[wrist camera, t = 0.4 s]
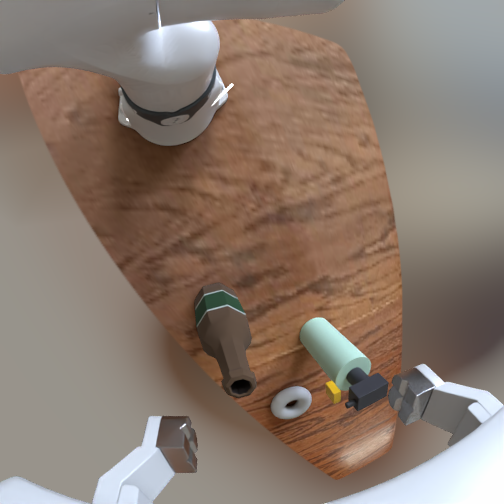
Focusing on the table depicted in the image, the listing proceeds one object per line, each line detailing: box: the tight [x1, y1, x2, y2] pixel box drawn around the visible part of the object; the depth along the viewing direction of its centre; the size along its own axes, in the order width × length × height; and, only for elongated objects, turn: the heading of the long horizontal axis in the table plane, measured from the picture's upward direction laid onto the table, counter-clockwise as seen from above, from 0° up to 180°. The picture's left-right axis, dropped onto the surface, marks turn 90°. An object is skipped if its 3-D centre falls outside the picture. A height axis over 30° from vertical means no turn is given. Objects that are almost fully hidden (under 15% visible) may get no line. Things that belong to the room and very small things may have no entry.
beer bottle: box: [194, 283, 257, 398], centre depth 37 cm, size 8×8×24 cm
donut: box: [271, 386, 311, 419], centre depth 56 cm, size 10×4×10 cm
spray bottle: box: [300, 318, 388, 411], centre depth 44 cm, size 7×8×22 cm
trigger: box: [326, 381, 341, 404], centre depth 37 cm, size 2×1×3 cm, turn 11°
